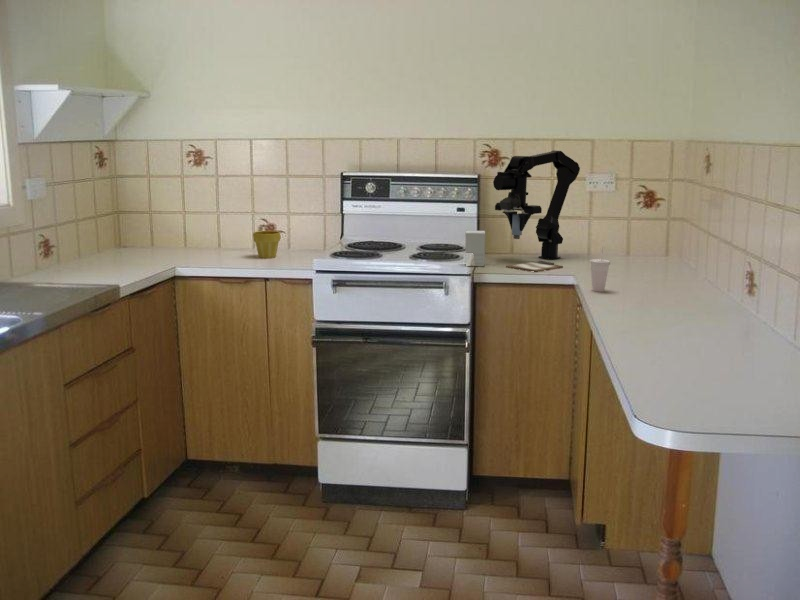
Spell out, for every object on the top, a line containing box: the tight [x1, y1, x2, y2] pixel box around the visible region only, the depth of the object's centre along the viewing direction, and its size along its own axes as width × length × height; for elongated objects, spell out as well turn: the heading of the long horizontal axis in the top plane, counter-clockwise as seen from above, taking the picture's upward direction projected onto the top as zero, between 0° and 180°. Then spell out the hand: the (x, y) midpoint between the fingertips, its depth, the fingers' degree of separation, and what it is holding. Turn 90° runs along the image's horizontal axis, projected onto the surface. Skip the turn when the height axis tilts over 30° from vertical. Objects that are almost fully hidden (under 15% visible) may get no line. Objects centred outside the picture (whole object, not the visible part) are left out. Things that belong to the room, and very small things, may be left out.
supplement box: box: [464, 230, 486, 267], centre depth 312 cm, size 7×7×13 cm
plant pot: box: [252, 230, 281, 259], centre depth 325 cm, size 10×10×10 cm
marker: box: [511, 213, 523, 240], centre depth 318 cm, size 4×4×9 cm
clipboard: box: [505, 260, 564, 273], centre depth 308 cm, size 16×14×1 cm
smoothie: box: [589, 246, 611, 293], centre depth 265 cm, size 6×6×14 cm
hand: (516, 230), depth 319 cm, fingers closed on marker, 4 cm apart
